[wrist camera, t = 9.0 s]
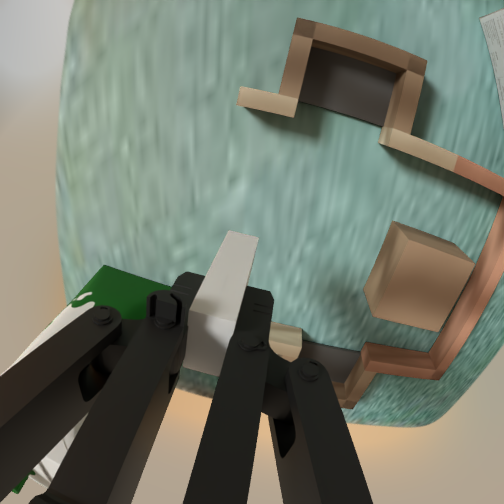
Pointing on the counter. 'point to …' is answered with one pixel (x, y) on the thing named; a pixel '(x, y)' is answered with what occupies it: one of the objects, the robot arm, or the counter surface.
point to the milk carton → (93, 294)
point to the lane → (475, 293)
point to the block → (416, 278)
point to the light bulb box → (496, 48)
